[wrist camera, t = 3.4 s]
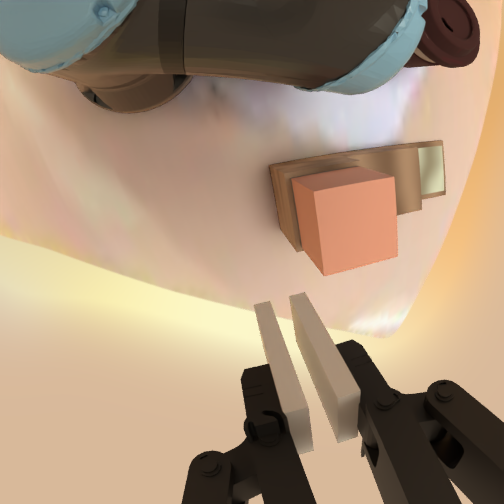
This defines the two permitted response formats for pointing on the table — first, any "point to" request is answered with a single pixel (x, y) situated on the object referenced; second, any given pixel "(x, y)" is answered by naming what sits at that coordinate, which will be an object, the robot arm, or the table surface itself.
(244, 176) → the table surface
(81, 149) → the table surface
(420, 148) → the stair
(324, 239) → the block
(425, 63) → the coffee cup
